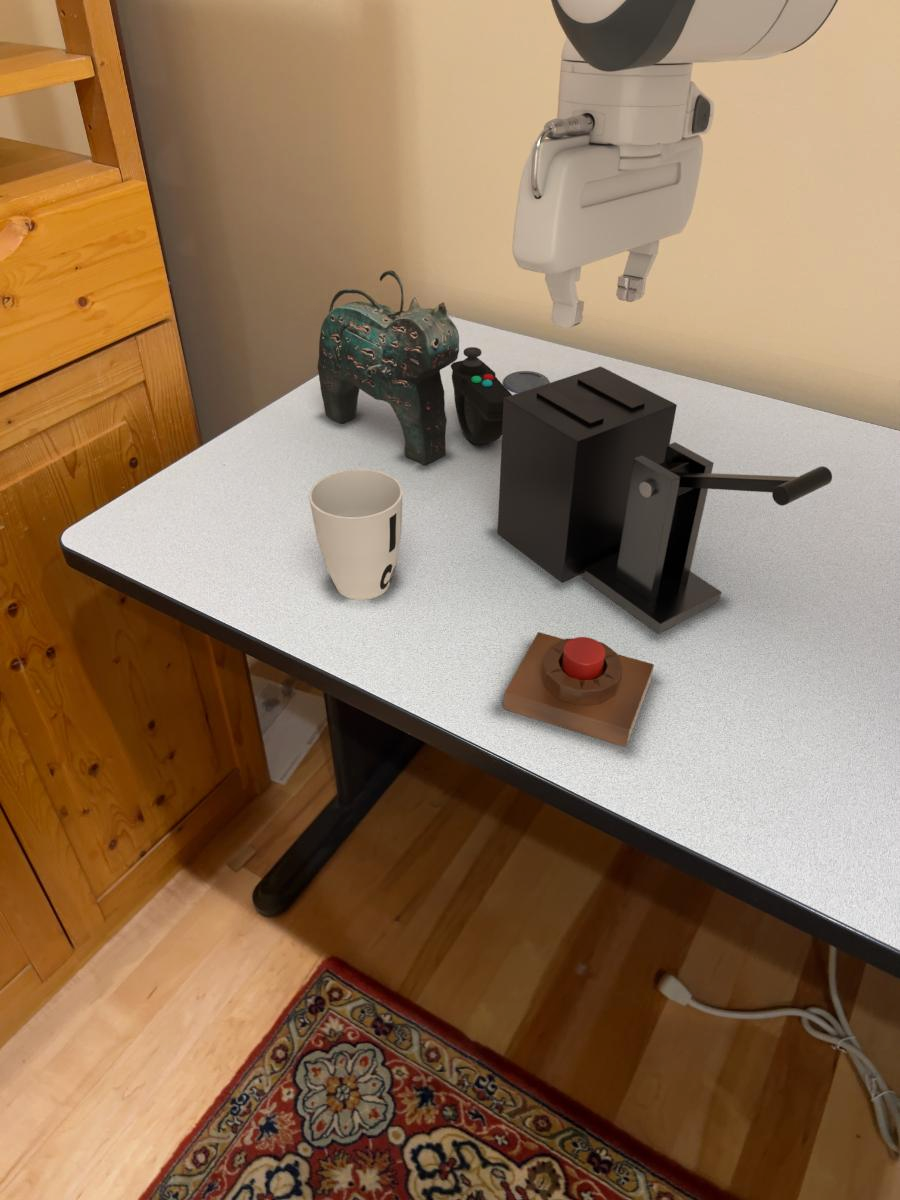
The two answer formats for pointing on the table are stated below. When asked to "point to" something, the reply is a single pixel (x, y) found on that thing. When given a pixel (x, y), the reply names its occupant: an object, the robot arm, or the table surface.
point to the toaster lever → (752, 482)
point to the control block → (579, 692)
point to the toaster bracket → (658, 546)
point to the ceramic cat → (389, 366)
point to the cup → (358, 529)
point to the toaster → (575, 465)
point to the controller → (478, 398)
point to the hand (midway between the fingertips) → (599, 311)
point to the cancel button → (583, 658)
